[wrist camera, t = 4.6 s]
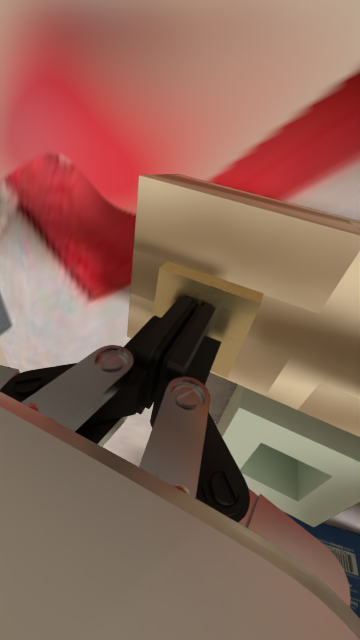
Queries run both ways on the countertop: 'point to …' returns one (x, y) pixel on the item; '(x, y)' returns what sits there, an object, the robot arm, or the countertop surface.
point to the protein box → (341, 554)
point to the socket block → (263, 286)
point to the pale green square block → (292, 456)
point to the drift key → (228, 298)
